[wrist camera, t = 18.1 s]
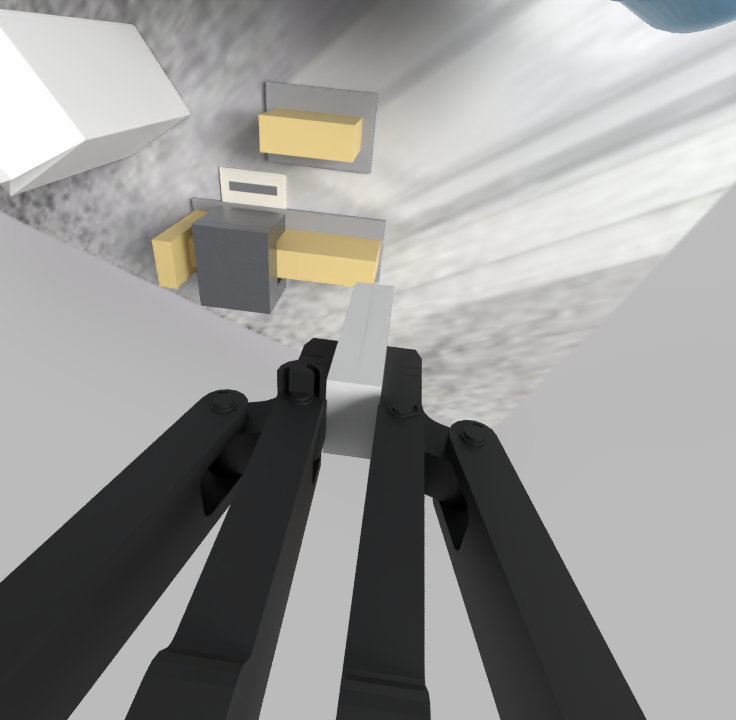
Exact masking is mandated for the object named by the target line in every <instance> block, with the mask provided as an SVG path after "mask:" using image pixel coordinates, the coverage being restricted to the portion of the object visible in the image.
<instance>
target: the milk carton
mask: <svg viewBox="0 0 736 720" xmlns="http://www.w3.org/2000/svg"><path fill="white" fill-rule="evenodd" d="M189 115H190V112H189V110H188V108H187V107H186V105H185V104H184V102H183V101H182V99H181V97H180V96H179V94H178V93H177V91H176V90H175V88H174V87H173V85H172V83H171V82H170V80H169V79H168V77H167V76H166V74H165V73H164V71H163V70H162V68H161V66H160V65H159V63H158V62H157V60H156V59H155V57H154V56H153V54H152V52H151V51H150V49H149V48H148V46H147V45H146V43H145V42H144V40H143V38H142V37H141V35H140V34H139V32H138V31H137V29H136V28H135V27H134V25H132V24H126V23H117V22H109V21H100V20H91V19H83V18H74V17H65V16H57V15H48V14H40V13H31V12H22V11H14V10H5V9H0V185H1V186H2V187H3V189H4V190H5V191H6V192H7V193H8V194H9V195H10V196H13V195H16V194H19V193H22V192H25V191H28V190H31V189H34V188H37V187H40V186H43V185H46V184H49V183H52V182H55V181H58V180H61V179H64V178H67V177H70V176H73V175H76V174H79V173H81V172H84V171H87V170H90V169H93V168H96V167H99V166H102V165H105V164H108V163H111V162H114V161H117V160H120V159H123V158H126V157H129V156H132V155H133V154H135V153H136V152H138V151H139V150H141V149H142V148H143V147H145V146H146V145H148V144H149V143H150V142H152V141H153V140H155V139H156V138H158V137H159V136H160V135H162V134H163V133H165V132H166V131H167V130H169V129H170V128H172V127H173V126H175V125H176V124H177V123H179V122H180V121H182V120H183V119H185V118H186V117H187V116H189Z"/></svg>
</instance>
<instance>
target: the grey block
mask: <svg viewBox="0 0 736 720" xmlns="http://www.w3.org/2000/svg"><path fill="white" fill-rule="evenodd" d="M191 227H192V235H193V243H194V251H195V259H196V267H197V276H198V284H199V292H200V300H201V305H202V306H210V307H218V308H226V309H234V310H242V311H250V312H258V313H266V314H271V312H272V310H273V309H274V307H275V305H276V303H277V302H278V300H279V298H280V297H281V295H282V293H283V292H284V290H285V288H286V278H278V277H277V240H278V239H279V238H280V237H281V235H282V234H283V233H284V232H285V213H278V212H269V211H261V210H252V209H244V208H235V207H227V206H218V205H217V206H216V207H214V208H213V209H212V210H210V211H209V212H208V213H206V214H205V215H203V216H202V217H201V218H199V219H198V220H196V221H195V222H194V223H192V224H191Z"/></svg>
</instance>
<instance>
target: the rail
mask: <svg viewBox="0 0 736 720" xmlns="http://www.w3.org/2000/svg"><path fill="white" fill-rule="evenodd" d="M192 205H193V212H192V213H190V214H189V215H188V216H186V217H185V218H183V219H182V220H180V221H179V222H177V223H176V224H174V225H173V226H171V227H170V228H168V229H167V230H165V231H164V232H162V233H161V234H159V235H158V236H156V237H155V238H153V239H152V245H153V251H154V257H155V263H156V269H157V274H158V280H159V286H160V287H167V288H175V289H178V288H179V287H180V286H181V285H182V284H183V283H184V282H185V281H186V280H187V279H188V278H189V277H190V276H191V275H192V274H193V273H195V272H196V271H197V267H196V259H195V251H194V243H193V235H192V227H191V224H192V223H194V222H195V221H196V220H198V219H199V218H201V217H202V216H203V215H205V214H206V213H208V212H209V211H210V210H212V209H213V208H214V207H216V206H217V205H218V206H227V207H235V208H244V209H252V210H261V211H269V212H278V213H285V232H284V233H283V234H282V235H281V237H280V238H279V239H278V240H277V277H278V278H286V279H294V280H302V281H310V282H319V283H327V284H335V285H343V286H351V287H354V286H355V283H356V282H361V283H370V284H374V282H378V283H379V276H380V267H381V258H382V249H383V240H384V231H385V222H386V220H380V219H371V218H363V217H354V216H346V215H338V214H329V213H321V212H312V211H304V210H296V209H287V208H286V209H282V208H273V207H265V206H257V205H248V204H240V203H231V202H223V201H220V200H212V199H203V198H195V197H194V198H192Z"/></svg>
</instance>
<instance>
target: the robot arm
mask: <svg viewBox="0 0 736 720" xmlns="http://www.w3.org/2000/svg"><path fill="white" fill-rule="evenodd" d="M612 1H619V2H620V3H621V4H623V5H624V6H625V7H627V8H628V9H629V10H630V11H632V12H633V13H634V14H636V15H637V16H638V17H639V18H641V19H642V20H643V21H645V22H646V23H647V24H649V25H650V26H652V27H654V28H656V29H660V30H664V31H668V32H672V33H691V32H697V31H703V30H707V29H711V28H715V27H717V26H720V25H723V24H726V23H729V22H732V21H734V20H736V0H612ZM393 293H394V286H386V285H378V284H370V283H361V282H356V283H355V286H354V290H353V293H352V297H351V300H350V303H349V307H348V310H347V313H346V317H345V320H344V323H343V327H342V330H341V334H340V337H339V340H338V341H334V340H326V339H319V338H313V339H311V340H310V341H309V342H308V343H306V344H305V345H304V347H303V350H302V352H301V355H300V357H299V359H298V360H295V361H290V362H287V363H285V364H283V365H281V366H280V368H279V369H278V370H277V387H278V394H277V397H276V398H274V399H270V400H267V401H261V402H250V403H248V399H247V398H246V396H245V395H244V394H242V393H240V392H238V391H235V390H229V389H226V390H217V391H214V392H211V393H209V394H207V395H206V396H204V397H203V398H202V399H200V400H199V401H198V402H197V403H196V404H195V405H194V406H193V407H192V408H191V409H189V410H188V411H187V412H186V413H185V414H184V415H183V416H182V417H181V418H180V419H179V420H178V421H176V423H174V424H173V425H172V426H171V427H170V428H169V429H168V430H167V431H165V432H164V433H163V434H162V435H161V436H160V437H159V438H158V439H157V440H156V441H155V442H153V443H152V444H151V445H150V446H149V447H148V448H147V449H146V450H145V451H144V452H143V453H141V454H140V455H139V456H138V457H137V458H136V459H135V460H134V461H133V462H132V463H131V464H130V465H128V466H127V467H126V468H125V469H124V470H123V471H122V472H121V473H120V474H119V475H118V476H116V477H115V478H114V479H113V480H112V481H111V482H110V483H109V484H108V485H107V486H105V487H104V488H103V489H102V490H101V491H100V492H99V493H98V494H97V495H96V496H95V497H93V498H92V499H91V500H90V501H89V502H88V503H87V504H86V505H85V506H84V507H83V508H81V509H80V510H79V511H78V512H77V513H76V514H75V515H74V516H73V517H72V518H71V519H69V520H68V521H67V522H66V523H65V524H64V525H63V526H62V527H61V528H60V529H59V530H57V531H56V532H55V533H54V534H53V535H52V536H51V537H50V538H49V539H48V540H47V541H45V542H44V543H43V544H42V545H41V546H40V547H39V548H38V549H37V550H36V551H35V552H34V553H32V554H31V555H30V556H29V557H28V558H27V559H26V560H25V561H24V562H23V563H21V564H20V565H19V566H18V567H17V568H16V569H15V570H14V571H13V572H12V573H10V574H9V575H8V576H7V577H6V578H5V579H4V580H3V581H2V582H1V583H0V720H67V719H68V718H69V716H70V715H71V714H72V712H73V711H74V710H75V709H76V707H77V706H78V705H79V703H80V702H81V701H82V699H83V698H84V697H85V695H86V694H87V693H88V692H89V690H90V689H91V688H92V686H93V685H94V684H95V682H96V681H97V679H98V678H99V677H100V676H101V674H102V673H103V671H104V670H105V669H106V668H107V666H108V665H109V664H110V662H111V661H112V660H113V658H114V657H115V656H116V655H117V653H118V652H119V650H120V649H121V648H122V647H123V645H124V644H125V643H126V641H127V640H128V639H129V637H130V636H131V635H132V633H133V632H134V631H135V629H136V628H137V627H138V625H139V624H140V623H141V622H142V620H143V619H144V617H145V616H146V615H147V614H148V612H149V611H150V610H151V608H152V607H153V605H154V604H155V603H156V602H157V600H158V599H159V598H160V596H161V595H162V594H163V592H164V591H165V590H166V589H167V587H168V586H169V585H170V583H171V582H172V581H173V579H174V578H175V577H176V575H177V574H178V573H179V571H180V570H181V569H182V567H183V566H184V565H185V563H186V562H187V561H188V559H189V558H190V557H191V555H192V554H193V553H194V552H195V550H196V549H197V548H198V546H199V545H200V544H201V542H202V541H203V540H204V538H205V537H206V536H207V534H208V533H209V532H210V530H211V529H212V528H213V526H214V525H215V524H216V522H217V521H218V520H219V519H220V517H221V516H222V514H223V513H224V512H225V511H226V509H227V508H228V507H229V505H230V504H231V505H230V507H229V510H228V512H227V514H226V517H225V519H224V521H223V524H222V526H221V528H220V531H219V533H218V535H217V538H216V540H215V542H214V545H213V547H212V550H211V552H210V554H209V557H208V559H207V561H206V564H205V566H204V568H203V571H202V573H201V575H200V578H199V580H198V582H197V585H196V587H195V589H194V592H193V594H192V597H191V599H190V601H189V604H188V606H187V608H186V611H185V613H184V615H183V618H182V620H181V622H180V625H179V627H178V630H177V632H176V634H175V636H174V638H173V640H172V642H171V644H170V645H169V646H168V647H167V648H165V649H163V650H161V651H159V652H158V654H157V655H156V656H155V658H154V659H153V660H152V662H151V664H150V666H149V667H148V670H147V671H146V673H145V676H144V677H143V680H142V682H141V684H140V686H139V689H138V691H137V693H136V695H135V698H134V700H133V702H132V704H131V707H130V709H129V711H128V713H127V716H126V718H125V720H258V719H259V715H260V710H261V707H262V702H263V698H264V694H265V690H266V686H267V682H268V678H269V673H270V669H271V666H272V662H273V658H274V654H275V650H276V645H277V641H278V637H279V633H280V629H281V624H282V621H283V617H284V612H285V609H286V605H287V601H288V597H289V593H290V588H291V584H292V580H293V576H294V572H295V568H296V564H297V560H298V555H299V552H300V548H301V544H302V539H303V535H304V531H305V527H306V523H307V519H308V515H309V511H310V506H311V502H312V499H313V495H314V490H315V487H316V482H317V478H318V474H319V470H320V466H321V452H322V448H323V453H330V454H337V455H344V456H352V457H359V458H367V459H371V461H370V468H369V476H368V483H367V492H366V499H365V506H364V514H363V521H362V528H361V536H360V544H359V551H358V559H357V566H356V573H355V581H354V589H353V596H352V604H351V611H350V619H349V626H348V634H347V641H346V649H345V656H344V664H343V671H342V679H341V686H340V694H339V701H338V709H337V716H336V720H431V715H430V699H429V693H428V690H427V688H426V686H425V673H424V672H425V671H424V494H426V495H428V496H430V497H433V504H434V508H435V511H436V514H437V517H438V520H439V524H440V527H441V530H442V533H443V536H444V540H445V543H446V546H447V549H448V552H449V556H450V559H451V562H452V565H453V569H454V572H455V575H456V578H457V581H458V585H459V588H460V590H461V594H462V597H463V601H464V604H465V607H466V610H467V614H468V617H469V620H470V623H471V626H472V630H473V633H474V636H475V639H476V642H477V645H478V649H479V652H480V655H481V658H482V662H483V665H484V668H485V671H486V674H487V678H488V681H489V684H490V687H491V691H492V694H493V697H494V700H495V703H496V707H497V710H498V713H499V716H500V719H501V720H646V718H645V716H644V714H643V712H642V710H641V708H640V706H639V704H638V703H637V701H636V699H635V697H634V695H633V693H632V691H631V689H630V687H629V685H628V684H627V682H626V680H625V678H624V676H623V674H622V672H621V670H620V669H619V667H618V665H617V663H616V661H615V659H614V657H613V655H612V653H611V651H610V649H609V648H608V646H607V644H606V642H605V640H604V638H603V636H602V634H601V632H600V630H599V629H598V627H597V625H596V623H595V621H594V619H593V617H592V615H591V613H590V612H589V610H588V608H587V606H586V604H585V602H584V600H583V598H582V596H581V594H580V593H579V591H578V589H577V587H576V585H575V583H574V582H573V579H572V577H571V576H570V574H569V572H568V570H567V568H566V566H565V564H564V563H563V560H562V558H561V557H560V555H559V553H558V551H557V549H556V547H555V545H554V543H553V541H552V539H551V538H550V536H549V534H548V532H547V530H546V528H545V526H544V524H543V522H542V521H541V519H540V517H539V515H538V513H537V511H536V509H535V507H534V505H533V504H532V502H531V500H530V498H529V496H528V494H527V492H526V490H525V488H524V486H523V485H522V483H521V481H520V479H519V477H518V475H517V473H516V471H515V469H514V467H513V465H512V464H511V462H510V460H509V458H508V456H507V454H506V452H505V450H504V448H503V446H502V445H501V443H500V441H499V439H498V437H497V435H496V434H495V433H494V432H493V430H492V429H491V428H489V427H488V426H486V425H485V424H482V423H479V422H477V421H471V420H462V421H457V422H456V423H454V424H452V425H451V427H447V426H444V425H442V424H439V423H437V422H435V421H434V420H432V419H431V418H429V417H428V416H427V415H426V414H425V412H424V410H423V407H422V378H421V376H422V370H421V369H422V359H421V357H420V356H419V354H418V353H417V351H416V350H412V349H405V348H397V347H389V346H387V341H388V333H389V325H390V317H391V309H392V301H393Z"/></svg>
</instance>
